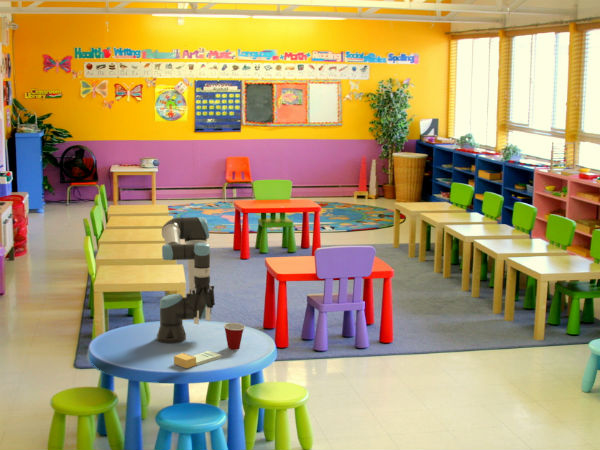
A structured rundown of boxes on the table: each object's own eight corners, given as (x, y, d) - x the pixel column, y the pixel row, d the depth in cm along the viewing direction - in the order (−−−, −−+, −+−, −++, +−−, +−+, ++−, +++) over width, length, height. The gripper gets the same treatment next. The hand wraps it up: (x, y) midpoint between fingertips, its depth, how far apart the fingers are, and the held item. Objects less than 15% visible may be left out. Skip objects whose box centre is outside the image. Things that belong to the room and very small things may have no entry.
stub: (174, 363, 388) (173, 355, 387) (183, 360, 392) (183, 352, 392) (186, 368, 382) (186, 359, 381) (196, 365, 386) (196, 356, 386)
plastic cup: (241, 352, 407) (241, 329, 405) (221, 350, 409) (221, 327, 407) (247, 345, 417) (247, 323, 415) (227, 344, 420) (227, 321, 417)
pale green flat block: (184, 361, 392) (184, 358, 392) (208, 353, 404) (208, 350, 404) (196, 365, 387) (196, 362, 386) (221, 357, 398) (221, 354, 398)
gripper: (191, 280, 378) (191, 327, 382) (222, 273, 393) (222, 319, 397) (181, 277, 383) (181, 324, 387) (212, 271, 398) (212, 316, 402)
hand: (202, 321), depth 392 cm, fingers open, 7 cm apart
